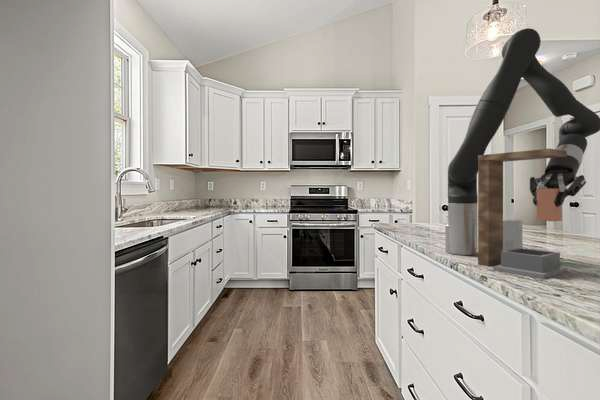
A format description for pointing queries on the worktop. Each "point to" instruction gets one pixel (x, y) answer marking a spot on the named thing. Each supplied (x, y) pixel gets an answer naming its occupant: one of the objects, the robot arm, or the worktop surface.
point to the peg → (548, 205)
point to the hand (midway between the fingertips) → (546, 204)
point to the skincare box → (512, 234)
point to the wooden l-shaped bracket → (497, 199)
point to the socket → (530, 263)
